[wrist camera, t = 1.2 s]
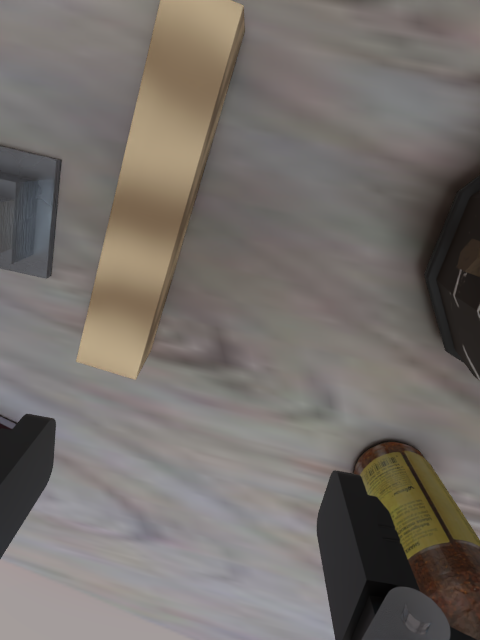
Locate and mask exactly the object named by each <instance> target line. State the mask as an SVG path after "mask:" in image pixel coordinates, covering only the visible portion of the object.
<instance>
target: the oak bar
mask: <svg viewBox="0 0 480 640" xmlns="http://www.w3.org/2000/svg"><path fill="white" fill-rule="evenodd" d="M244 32H245V25H244V5H241V4H239V3H236V2H234V1H231V0H160V4H159V8H158V12H157V17H156V21H155V25H154V30H153V34H152V38H151V43H150V47H149V51H148V55H147V60H146V64H145V68H144V73H143V77H142V81H141V85H140V90H139V94H138V98H137V103H136V107H135V111H134V115H133V120H132V124H131V128H130V133H129V137H128V141H127V145H126V150H125V154H124V158H123V163H122V167H121V171H120V176H119V180H118V184H117V188H116V193H115V197H114V201H113V206H112V210H111V214H110V218H109V223H108V227H107V231H106V236H105V240H104V244H103V248H102V253H101V257H100V261H99V266H98V270H97V274H96V278H95V283H94V287H93V291H92V296H91V300H90V304H89V309H88V313H87V317H86V321H85V326H84V330H83V334H82V339H81V343H80V347H79V351H78V356H77V360H76V362H79V363H82V364H86V365H89V366H92V367H95V368H99V369H102V370H105V371H108V372H112V373H115V374H118V375H122V376H125V377H128V378H131V379H135V380H136V378H137V376H138V374H139V373H140V371H141V369H142V367H143V365H144V363H145V361H146V359H147V357H148V355H149V353H150V352H151V349H152V345H153V342H154V339H155V335H156V332H157V328H158V325H159V322H160V318H161V315H162V311H163V308H164V304H165V301H166V298H167V294H168V291H169V287H170V284H171V281H172V277H173V274H174V270H175V267H176V264H177V260H178V257H179V253H180V250H181V247H182V243H183V240H184V236H185V233H186V230H187V226H188V223H189V219H190V216H191V213H192V209H193V206H194V202H195V199H196V196H197V192H198V189H199V185H200V182H201V179H202V175H203V172H204V168H205V165H206V162H207V158H208V155H209V151H210V148H211V145H212V141H213V138H214V134H215V131H216V128H217V124H218V121H219V117H220V114H221V111H222V107H223V104H224V100H225V97H226V94H227V90H228V87H229V83H230V80H231V77H232V73H233V70H234V66H235V63H236V60H237V56H238V53H239V49H240V46H241V43H242V39H243V36H244Z"/></svg>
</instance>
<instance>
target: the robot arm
mask: <svg viewBox="0 0 480 640" xmlns="http://www.w3.org/2000/svg"><path fill="white" fill-rule="evenodd" d="M55 429H56V422H55V419H54V418H48V417H43V416H37V415H32V414H26V415H24V416H23V417H22V419H21V420H20V421H19V422H18V423H17V424H16V425H15V426H14V428H13V429H12V430H9V429H3V428H1V429H0V559H1V557H2V555H3V554H4V552H5V551H6V549H7V547H8V546H9V544H10V543H11V541H12V539H13V538H14V536H15V535H16V533H17V532H18V530H19V528H20V527H21V525H22V524H23V522H24V520H25V519H26V517H27V516H28V514H29V512H30V511H31V509H32V508H33V506H34V504H35V503H36V501H37V500H38V498H39V496H40V495H41V493H42V492H43V490H44V488H45V487H46V485H47V483H48V481H49V478H50V475H51V472H52V468H53V460H54V445H55ZM317 537H318V542H319V548H320V554H321V560H322V565H323V571H324V577H325V583H326V588H327V594H328V600H329V606H330V611H331V617H332V623H333V629H334V634H335V640H477V639H475V638H473V637H471V636H468V635H466V634H464V633H462V632H460V631H458V630H456V629H454V628H452V627H451V626H449V623H448V620H447V618H446V616H445V615H444V613H443V612H442V610H441V609H440V608H439V607H438V605H437V604H436V603H435V602H434V601H433V600H432V599H430V598H429V597H428V596H426V595H425V594H423V593H422V592H420V590H419V587H418V584H417V582H416V579H415V577H414V574H413V572H412V569H411V566H410V564H409V561H408V559H407V556H406V554H405V551H404V548H403V546H402V544H401V543H400V538H399V536H398V533H397V530H395V525H394V523H393V520H392V518H391V515H390V512H389V511H388V510H387V508H386V507H385V506H384V505H383V504H382V502H381V501H380V500H379V499H378V498H377V497H376V496H371V495H368V494H367V491H366V488H365V485H364V482H363V480H362V477H361V476H360V475H357V474H352V473H346V472H340V471H333V472H332V474H331V476H330V479H329V482H328V485H327V488H326V491H325V494H324V497H323V500H322V503H321V506H320V509H319V513H318V518H317Z"/></svg>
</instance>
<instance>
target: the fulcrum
mask: <svg viewBox="0 0 480 640" xmlns="http://www.w3.org/2000/svg"><path fill="white" fill-rule="evenodd" d="M60 168H61V160H59V159H55V158H50V157H46V156H42V155H38V154H34V153H30V152H25V151H21V150H17V149H13V148H9V147H5V146H0V268H1V269H6V270H10V271H15V272H19V273H24V274H28V275H32V276H37V277H41V278H48V277H50V276H51V271H52V259H53V248H54V237H55V225H56V214H57V203H58V191H59V180H60Z"/></svg>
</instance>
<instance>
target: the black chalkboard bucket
mask: <svg viewBox="0 0 480 640" xmlns="http://www.w3.org/2000/svg"><path fill="white" fill-rule="evenodd" d="M424 275H425V279H426V283H427V286H428V290H429V293H430V297H431V301H432V304H433V308H434V312H435V315H436V319H437V323H438V326H439V330H440V334H441V337H442V341H443V344H444V348H445V351H447V352H448V353H450V354H451V355H453V356H454V357H456V358H457V359H459V360H461V361H462V362H464V363H465V364H466V366H467V367H468V368H469V370H470V371H471V373H472V374H473V375H474V376H475V377H476V378H477V379H478V380H479V381H480V175H479V176H478V177H477V178H475V179H474V180H473V181H471V182H470V183H469V184H467V185H466V186H465V187H463V188H462V189H461V190H459V191H458V192H457V194H456V196H455V199H454V201H453V204H452V206H451V209H450V211H449V214H448V216H447V219H446V221H445V224H444V226H443V229H442V231H441V234H440V236H439V239H438V241H437V244H436V246H435V249H434V251H433V254H432V256H431V259H430V261H429V264H428V266H427V269H426V271H425V274H424Z"/></svg>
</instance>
